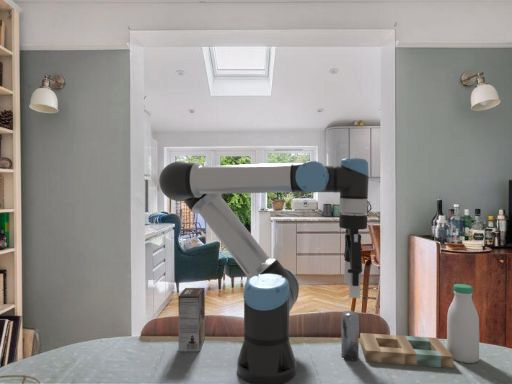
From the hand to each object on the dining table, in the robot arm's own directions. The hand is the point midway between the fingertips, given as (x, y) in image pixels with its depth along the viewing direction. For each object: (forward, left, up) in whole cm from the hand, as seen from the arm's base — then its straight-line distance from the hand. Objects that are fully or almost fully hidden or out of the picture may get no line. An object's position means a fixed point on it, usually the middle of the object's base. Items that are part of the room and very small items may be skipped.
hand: (351, 290), depth 98 cm
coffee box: (-46, 0, -19) cm, 50 cm away
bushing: (0, 0, -19) cm, 19 cm away
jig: (+15, +4, -19) cm, 24 cm away
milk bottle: (+31, +5, -19) cm, 36 cm away
